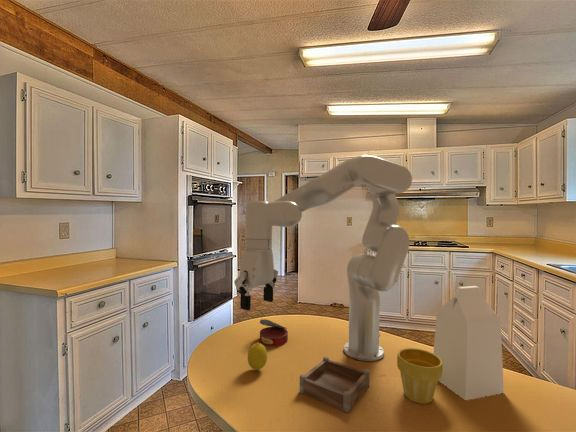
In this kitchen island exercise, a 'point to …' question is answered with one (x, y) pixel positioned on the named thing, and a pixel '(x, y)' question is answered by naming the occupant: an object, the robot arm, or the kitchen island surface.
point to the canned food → (273, 334)
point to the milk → (469, 345)
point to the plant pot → (419, 373)
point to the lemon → (257, 356)
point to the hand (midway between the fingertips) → (257, 305)
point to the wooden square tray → (335, 384)
